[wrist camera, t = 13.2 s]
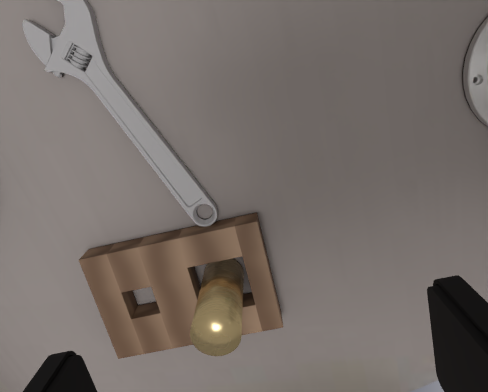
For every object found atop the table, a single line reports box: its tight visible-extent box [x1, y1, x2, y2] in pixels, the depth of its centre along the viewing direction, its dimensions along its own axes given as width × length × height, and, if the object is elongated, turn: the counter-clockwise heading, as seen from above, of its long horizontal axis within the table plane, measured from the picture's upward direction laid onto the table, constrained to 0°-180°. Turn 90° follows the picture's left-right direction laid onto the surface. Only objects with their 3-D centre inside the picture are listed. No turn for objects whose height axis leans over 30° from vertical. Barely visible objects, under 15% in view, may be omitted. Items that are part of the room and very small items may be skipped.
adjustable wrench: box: [22, 0, 218, 227], centre depth 36 cm, size 25×6×2 cm, turn 31°
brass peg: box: [190, 258, 244, 356], centre depth 36 cm, size 4×4×10 cm
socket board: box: [79, 213, 283, 359], centre depth 40 cm, size 18×12×2 cm, turn 103°
